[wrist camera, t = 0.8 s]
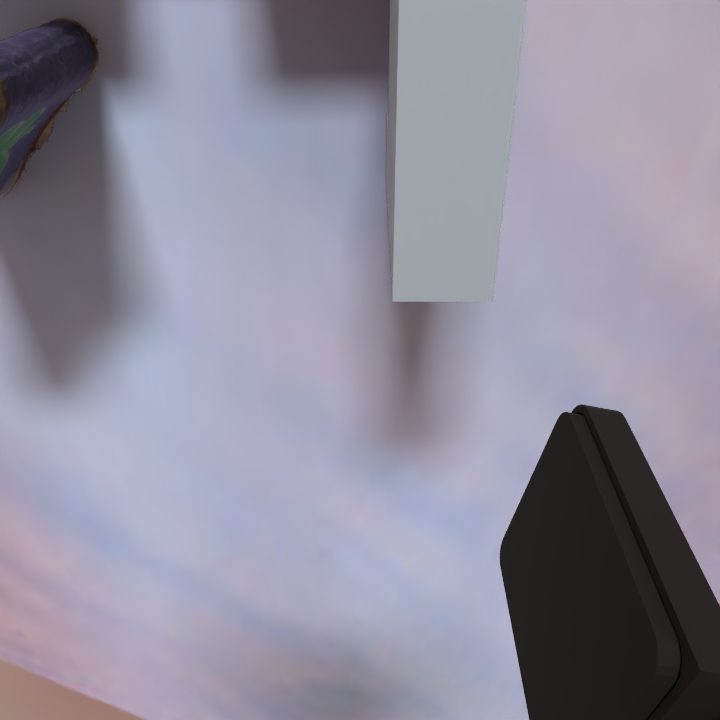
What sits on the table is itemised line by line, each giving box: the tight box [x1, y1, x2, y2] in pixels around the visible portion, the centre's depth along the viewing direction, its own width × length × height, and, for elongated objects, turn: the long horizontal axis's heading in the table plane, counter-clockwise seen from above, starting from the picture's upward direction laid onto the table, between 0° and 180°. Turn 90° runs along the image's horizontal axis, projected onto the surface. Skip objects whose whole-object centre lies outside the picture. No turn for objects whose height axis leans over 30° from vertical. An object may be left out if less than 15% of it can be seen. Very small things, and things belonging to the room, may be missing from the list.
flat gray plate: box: [386, 0, 527, 302], centre depth 22 cm, size 10×3×12 cm, turn 0°
